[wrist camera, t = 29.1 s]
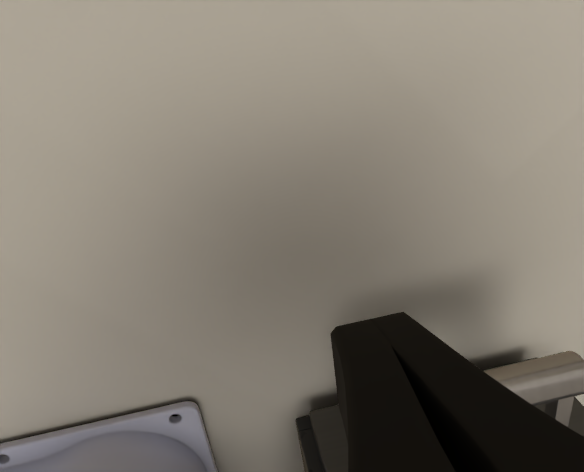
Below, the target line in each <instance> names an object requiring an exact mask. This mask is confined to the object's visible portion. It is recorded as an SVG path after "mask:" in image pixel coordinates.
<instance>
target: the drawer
mask: <svg viewBox="0 0 584 472" xmlns="http://www.w3.org/2000/svg"><path fill="white" fill-rule="evenodd" d="M482 371H484V372H485V373H487V374H488V375H489V376H491V377H492V378H494V379H495V380H497V381H498V382H500V383H501V384H502V385H504V386H505V387H507V388H508V389H510V390H511V391H512V392H514V393H515V394H517V395H518V396H520V397H521V398H523V399H524V400H526V401H527V402H529V403H530V404H532V405H534V406H535V407H537V408H538V409H540V410H541V411H543V412H545V413H546V414H548V415H549V416H551V417H553V418H554V419H556V420H557V421H559V422H561V423H562V424H564V425H565V426H567V427H568V428H570V429H572V430H573V431H575V432H577V433H578V434H580V435H582V436H584V406H583V405H582V404H581V403H580V402H579V401H578V400H577V399H576V398H575V397H574V396H577V395H581V394H584V360H583V358H582V357H581V356H580V355H578V354H577V353H575V352H573V351H566V352H562V353H558V354H553V355H549V356H545V357H541V358H533V359H528V360H524V361H520V362H516V363H512V364H507V365H503V366H499V367H495V368H490V369H486V370H482ZM310 420H311V426H312V432H313V435H314V439H315V443H316V446H317V450H318V453H319V457H320V461H321V464H322V468H323V471H324V472H348V442H347V438H346V433H345V429H344V424H343V420H342V417H341V413H340V409H339V405H335V406H331V407H326V408H322V409H318V410H314V411H310Z"/></svg>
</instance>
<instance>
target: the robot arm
mask: <svg viewBox="0 0 584 472" xmlns="http://www.w3.org/2000/svg"><path fill="white" fill-rule="evenodd" d="M331 341H332V350H333V359H334V368H335V376H336V385H337V394H338V403H339V409H340V413H341V417H342V420H343V424H344V429H345V433H346V438H347V442H348V472H584V436H582V435H580V434H578V433H577V432H575V431H573V430H572V429H570V428H568V427H567V426H565V425H564V424H562V423H561V422H559V421H557V420H556V419H554V418H553V417H551V416H549V415H548V414H546V413H545V412H543V411H541V410H540V409H538V408H537V407H535V406H534V405H532V404H530V403H529V402H527V401H526V400H524V399H523V398H521V397H520V396H518V395H517V394H515V393H514V392H512V391H511V390H510V389H508V388H507V387H505V386H504V385H502V384H501V383H500V382H498V381H497V380H495V379H494V378H492V377H491V376H489V375H488V374H487V373H485V372H484V371H482V370H481V369H479V368H478V367H477V366H475V365H474V364H472V363H471V362H470V361H468V360H467V359H466V358H464V357H463V356H461V355H460V354H459V353H457V352H456V351H455V350H453V349H452V348H451V347H449V346H448V345H447V344H445V343H444V342H443V341H441V340H440V339H439V338H437V337H436V336H435V335H433V334H432V333H431V332H430V331H428V330H427V329H426V328H424V327H423V326H422V325H420V324H419V323H418V322H416V321H415V320H414V319H412V318H411V317H410V316H408V315H407V314H405V313H404V312H400V313H396V314H391V315H387V316H382V317H378V318H373V319H369V320H364V321H360V322H355V323H351V324H346V325H342V326H337V327H336V328H335V329H334V330H333V331H332V332H331ZM173 414H178V416H171V415H173ZM2 454H4V455H6V456H4V455H2ZM0 472H218V471H217V467H216V464H215V461H214V457H213V454H212V450H211V447H210V444H209V440H208V437H207V434H206V430H205V427H204V423H203V420H202V417H201V413H200V410H199V407H198V405H197V404H196V403H194V402H191V401H184V402H180V403H176V404H171V405H167V406H162V407H158V408H154V409H149V410H145V411H141V412H136V413H132V414H128V415H123V416H119V417H115V418H110V419H106V420H101V421H97V422H93V423H88V424H84V425H80V426H75V427H71V428H67V429H62V430H58V431H53V432H49V433H45V434H40V435H36V436H32V437H27V438H23V439H19V440H14V441H10V442H6V443H1V444H0Z"/></svg>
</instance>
